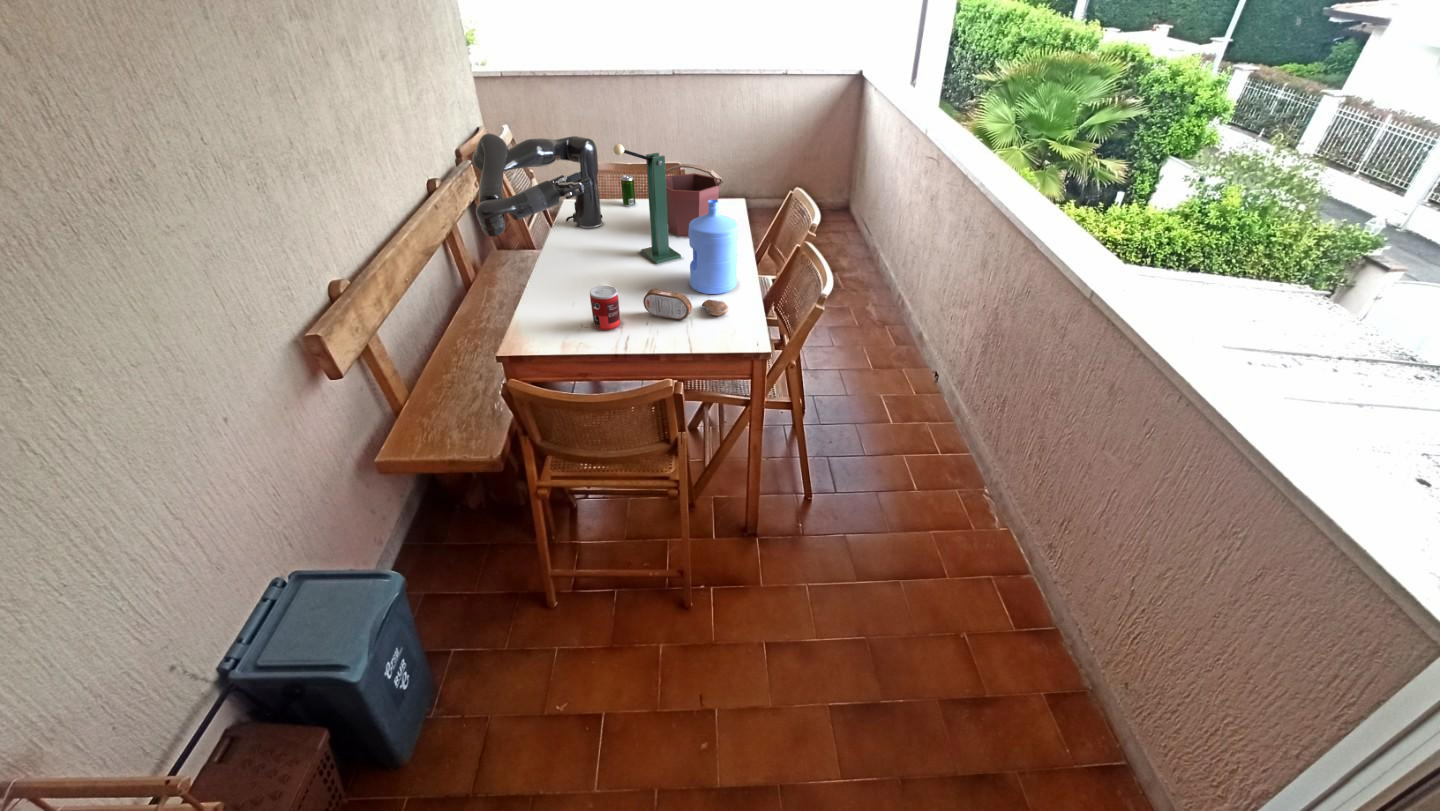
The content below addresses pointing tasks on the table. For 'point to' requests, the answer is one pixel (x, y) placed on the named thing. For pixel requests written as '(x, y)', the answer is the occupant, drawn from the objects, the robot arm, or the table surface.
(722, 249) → the water jug
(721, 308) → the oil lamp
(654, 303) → the tin
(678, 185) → the bucket
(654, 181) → the green upright stand
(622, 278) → the table surface
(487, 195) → the robot arm
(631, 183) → the beer can
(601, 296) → the canned food
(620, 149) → the lever
